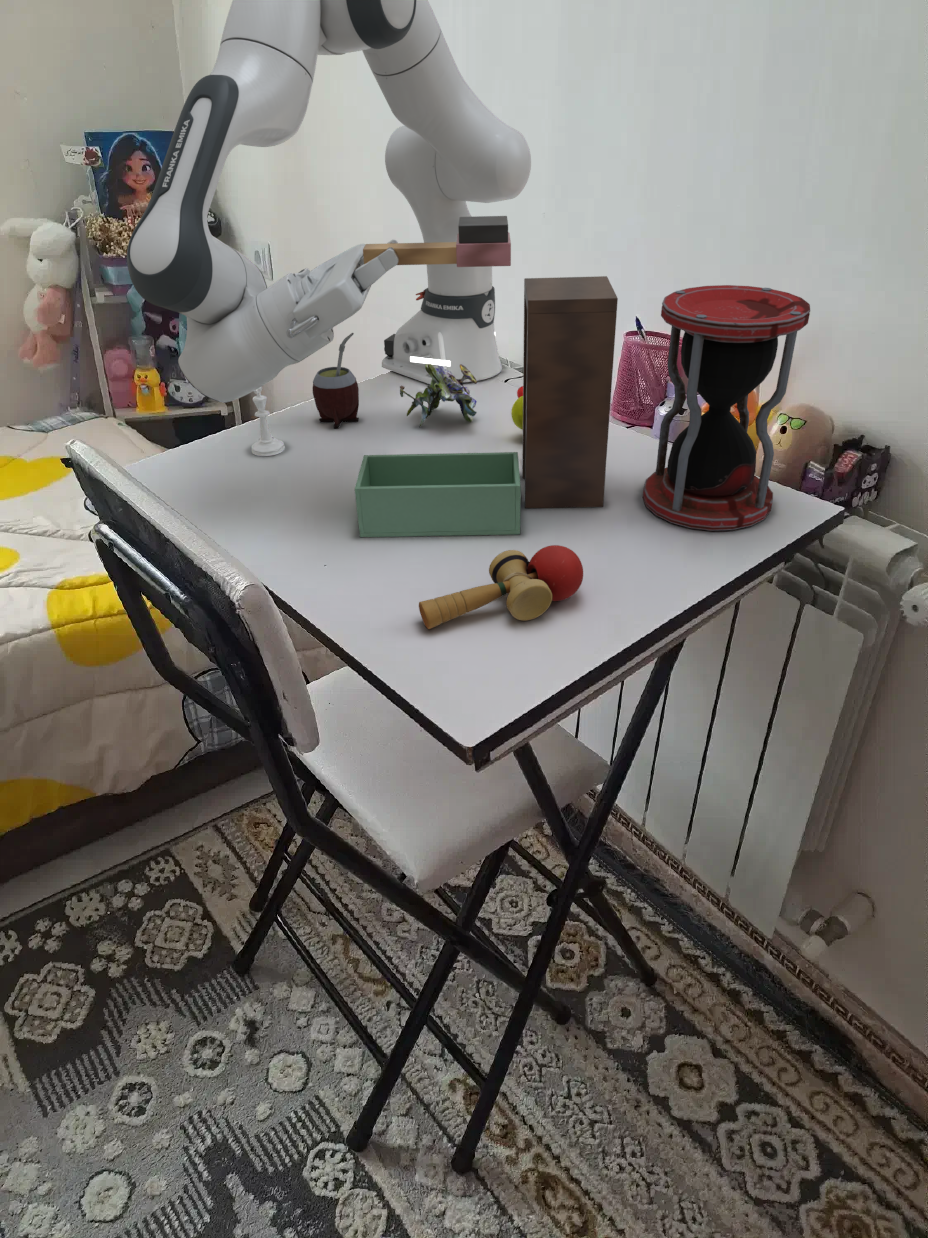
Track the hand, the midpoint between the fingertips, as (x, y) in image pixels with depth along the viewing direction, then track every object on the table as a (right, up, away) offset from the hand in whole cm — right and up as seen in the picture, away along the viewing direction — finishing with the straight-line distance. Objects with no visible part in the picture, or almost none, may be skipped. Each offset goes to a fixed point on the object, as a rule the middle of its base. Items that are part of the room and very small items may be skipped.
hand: (397, 249), depth 97 cm
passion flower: (+4, -11, +38) cm, 40 cm away
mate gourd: (-12, -11, +40) cm, 43 cm away
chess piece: (-22, -17, +31) cm, 42 cm away
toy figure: (+17, -15, +32) cm, 39 cm away
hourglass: (+39, -27, +14) cm, 49 cm away
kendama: (+12, -41, -5) cm, 43 cm away
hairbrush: (+4, -1, +1) cm, 5 cm away
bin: (+5, -29, +12) cm, 32 cm away
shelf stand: (+21, -25, +17) cm, 36 cm away
